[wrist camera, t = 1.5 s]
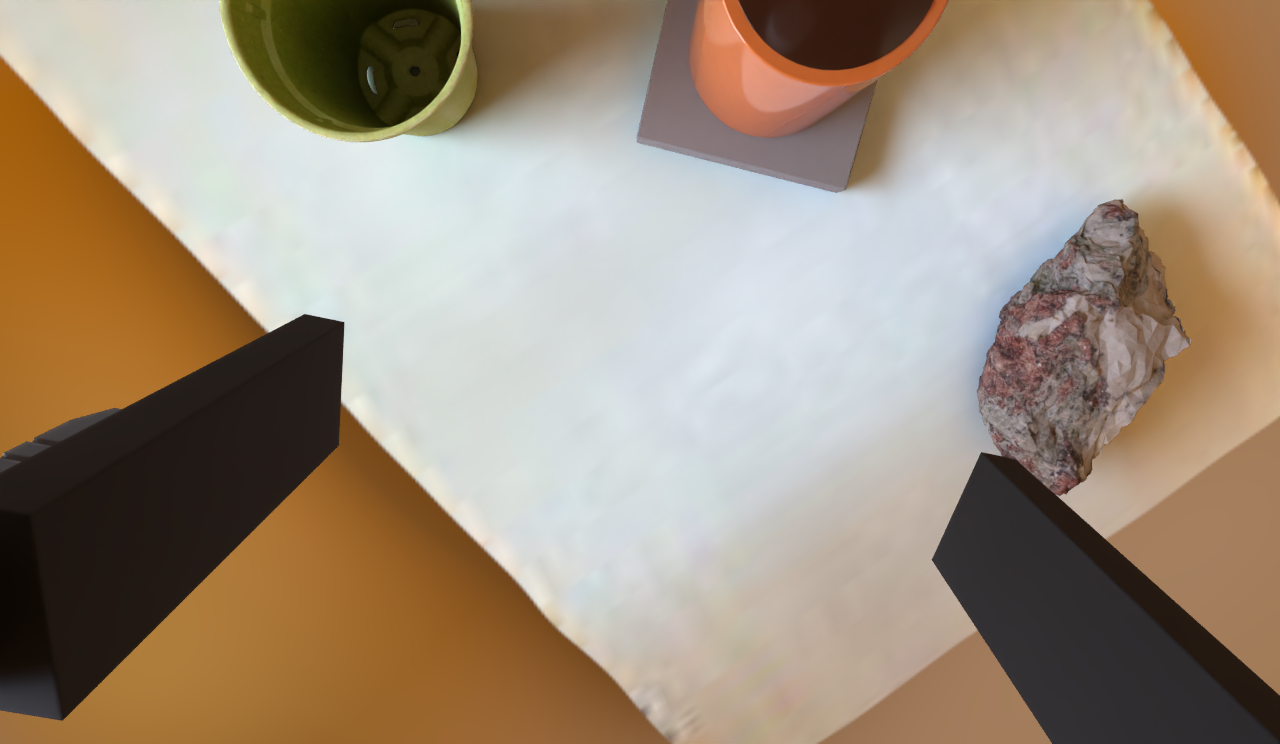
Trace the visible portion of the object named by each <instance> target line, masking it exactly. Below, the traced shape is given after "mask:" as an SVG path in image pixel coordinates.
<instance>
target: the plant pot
mask: <svg viewBox="0 0 1280 744" xmlns="http://www.w3.org/2000/svg"><path fill="white" fill-rule="evenodd" d="M219 2H220V13H221V20H222V24H223V28H224V32H225V35H226V38H227V40H228V43H229V46H230V49H231V51H232V54H233V56H234V58H235V60H236V62H237V64H238V66H239V68H240V69H241V71H242V73H243V74H244V75H245V77H246V78H247V80H248V81H249V83H250V84H251V85H252V86H253V88H254V89H255V90H256V92H257V93H258V94H259V95H260V96H261V97H262V98H263V99H264V100H265V101H266V102H267V103H268V104H269V105H270V106H271V107H272V108H273V109H274V110H276V111H277V112H278V113H279V114H281V115H282V116H283V117H285V118H286V119H288V120H289V121H291V122H292V123H294V124H296V125H298V126H299V127H301V128H303V129H305V130H308V131H310V132H312V133H315V134H317V135H320V136H323V137H327V138H331V139H335V140H341V141H348V142H372V141H380V140H384V139H389V138H393V137H396V136H399V135H401V134H407V135H414V136H429V135H434V134H438V133H441V132H443V131H446V130H447V129H449V128H451V127H453V126H454V125H455V124H456V123H458V122H459V120H460V119H461V118H462V117H463V115H464V114H465V113H466V111H467V110H468V108H469V106H470V105H471V103H472V101H473V99H474V96H475V93H476V89H477V80H478V71H477V64H476V60H475V56H474V52H473V49H472V46H471V44H472V36H473V8H472V1H471V0H219ZM408 18H411V19H416V20H418V21H419V25H418V26H404V27H400V28H396V29H394V28H393V26H394V23H395V22H397V21H400V20H404V19H408ZM457 52H459V55H458V59H457ZM369 66H372V67H373V69H374V80H375V85H376V90H377V92H378V93H377V94H375V93H373V91H372V90H371V88H370V86H369V84H368V80H367V69H368V67H369ZM414 66H416V67H419V69H420V74H419V75H418V76H415V77H414V76H412V75H411V74H410V69H411V67H414Z"/></svg>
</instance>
